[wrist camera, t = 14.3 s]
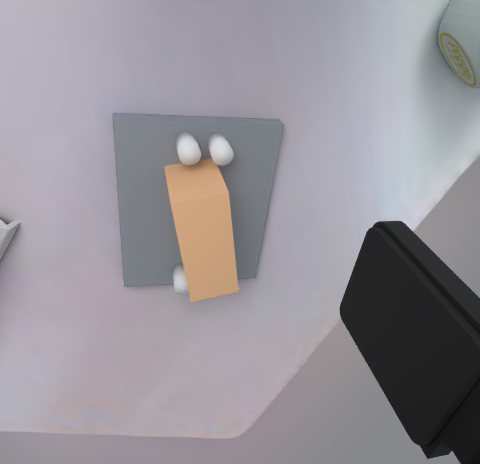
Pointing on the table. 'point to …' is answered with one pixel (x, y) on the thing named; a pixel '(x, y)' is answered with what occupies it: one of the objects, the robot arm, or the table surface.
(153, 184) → the base plate
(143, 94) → the table surface
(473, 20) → the grey green vase
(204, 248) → the block
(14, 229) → the hinge
